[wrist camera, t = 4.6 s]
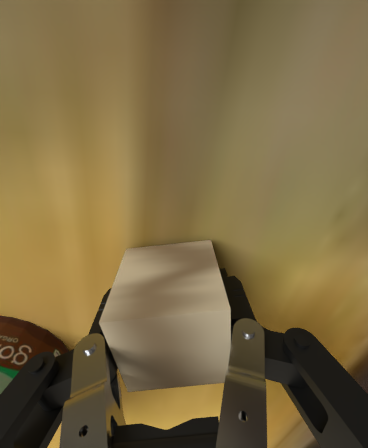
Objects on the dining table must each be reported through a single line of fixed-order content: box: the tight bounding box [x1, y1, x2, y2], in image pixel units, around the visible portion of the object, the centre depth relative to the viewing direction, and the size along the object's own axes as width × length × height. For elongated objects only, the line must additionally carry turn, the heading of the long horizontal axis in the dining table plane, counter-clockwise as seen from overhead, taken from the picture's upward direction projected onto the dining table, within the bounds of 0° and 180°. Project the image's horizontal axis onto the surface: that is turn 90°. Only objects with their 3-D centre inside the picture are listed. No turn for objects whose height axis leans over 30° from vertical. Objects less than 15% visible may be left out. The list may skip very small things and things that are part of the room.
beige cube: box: [99, 240, 231, 392], centre depth 11 cm, size 5×5×5 cm
